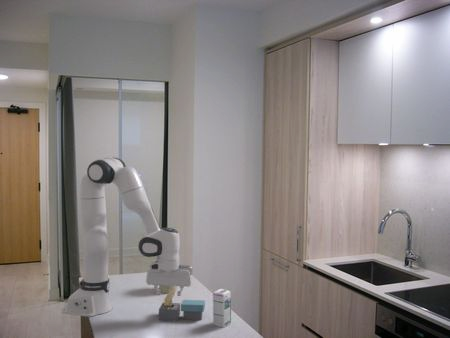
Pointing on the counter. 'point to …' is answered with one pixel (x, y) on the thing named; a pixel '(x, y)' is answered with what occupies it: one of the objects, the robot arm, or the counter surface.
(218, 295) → the syrup box
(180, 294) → the robot arm
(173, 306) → the block
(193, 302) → the cover
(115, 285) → the counter surface
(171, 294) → the T-key
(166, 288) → the reusable coffee cup
